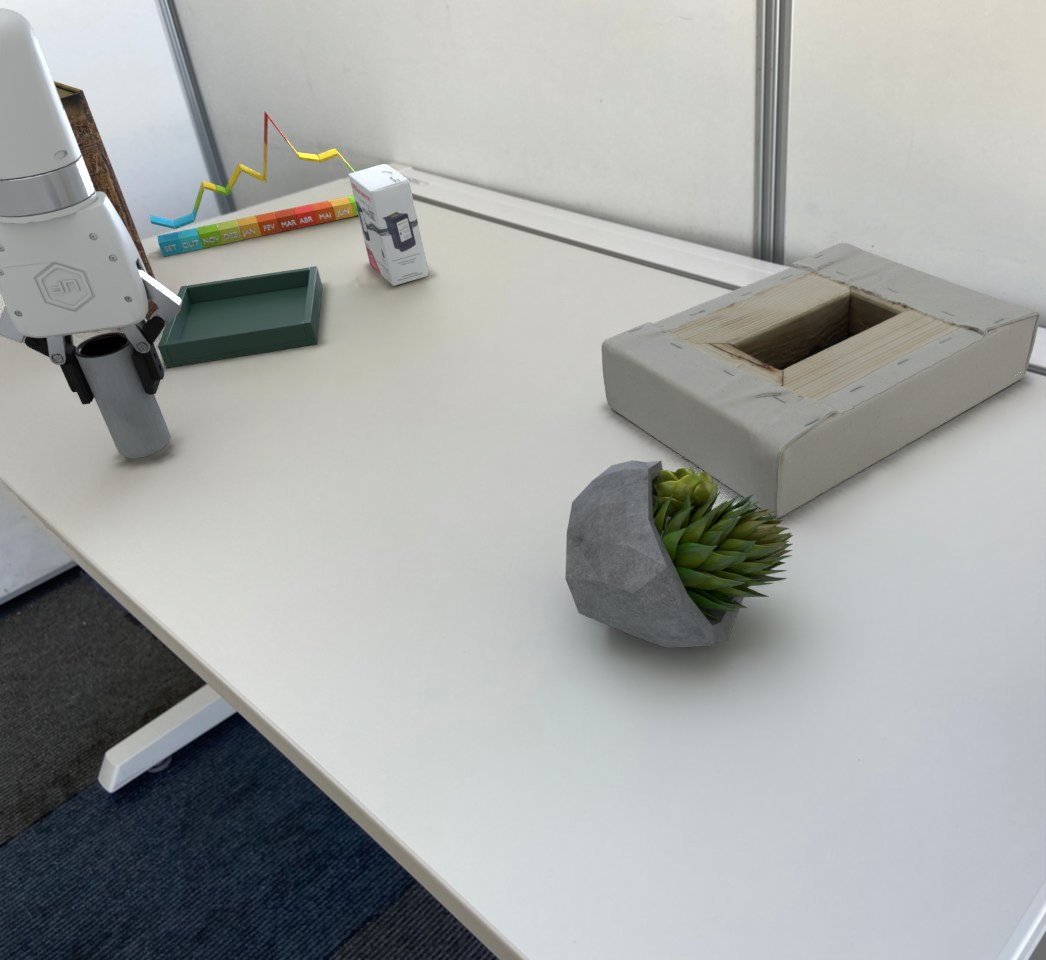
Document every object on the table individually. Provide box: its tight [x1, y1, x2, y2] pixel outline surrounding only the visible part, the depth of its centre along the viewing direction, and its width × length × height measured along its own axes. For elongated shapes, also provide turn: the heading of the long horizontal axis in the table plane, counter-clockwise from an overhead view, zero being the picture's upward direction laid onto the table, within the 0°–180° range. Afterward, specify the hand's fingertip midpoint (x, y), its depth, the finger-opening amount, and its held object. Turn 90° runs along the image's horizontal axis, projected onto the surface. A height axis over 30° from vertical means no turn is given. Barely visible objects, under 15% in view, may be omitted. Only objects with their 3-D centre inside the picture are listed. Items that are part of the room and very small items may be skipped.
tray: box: [157, 265, 323, 369], centre depth 109 cm, size 16×16×3 cm
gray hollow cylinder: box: [75, 331, 171, 459], centre depth 86 cm, size 4×4×10 cm
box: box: [601, 242, 1041, 519], centre depth 88 cm, size 23×8×32 cm
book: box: [53, 80, 158, 320], centre depth 109 cm, size 16×6×25 cm, turn 47°
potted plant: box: [564, 460, 794, 649], centre depth 64 cm, size 12×13×15 cm
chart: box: [149, 111, 358, 257], centre depth 130 cm, size 30×3×15 cm, turn 115°
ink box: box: [347, 163, 430, 287], centre depth 116 cm, size 8×5×12 cm, turn 32°
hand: (122, 389), depth 86 cm, fingers closed on gray hollow cylinder, 4 cm apart
